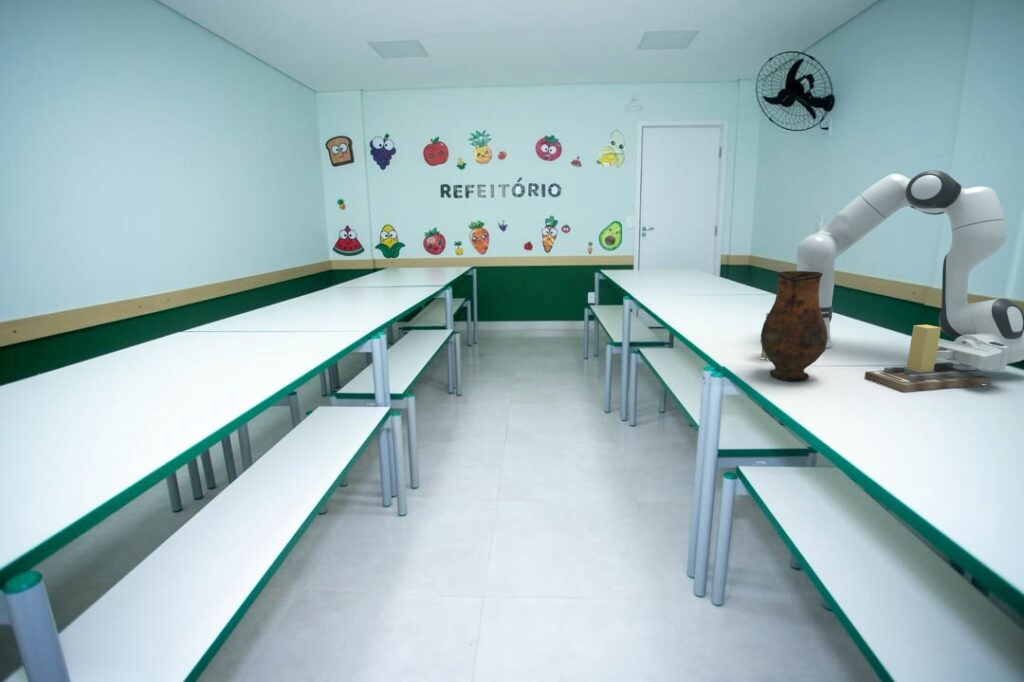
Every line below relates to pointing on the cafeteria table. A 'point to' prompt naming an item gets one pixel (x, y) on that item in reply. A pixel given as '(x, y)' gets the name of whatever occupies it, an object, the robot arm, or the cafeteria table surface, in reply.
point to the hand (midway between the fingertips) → (928, 353)
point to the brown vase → (795, 326)
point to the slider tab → (923, 349)
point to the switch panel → (927, 378)
